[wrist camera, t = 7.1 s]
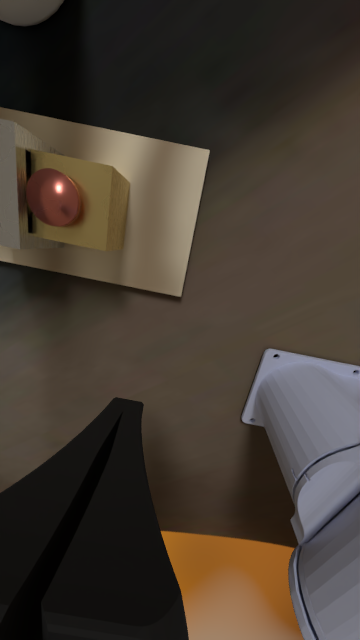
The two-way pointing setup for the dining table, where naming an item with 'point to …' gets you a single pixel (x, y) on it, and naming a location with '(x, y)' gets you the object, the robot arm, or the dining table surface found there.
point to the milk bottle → (27, 11)
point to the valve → (77, 201)
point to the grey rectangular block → (18, 187)
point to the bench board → (143, 205)
